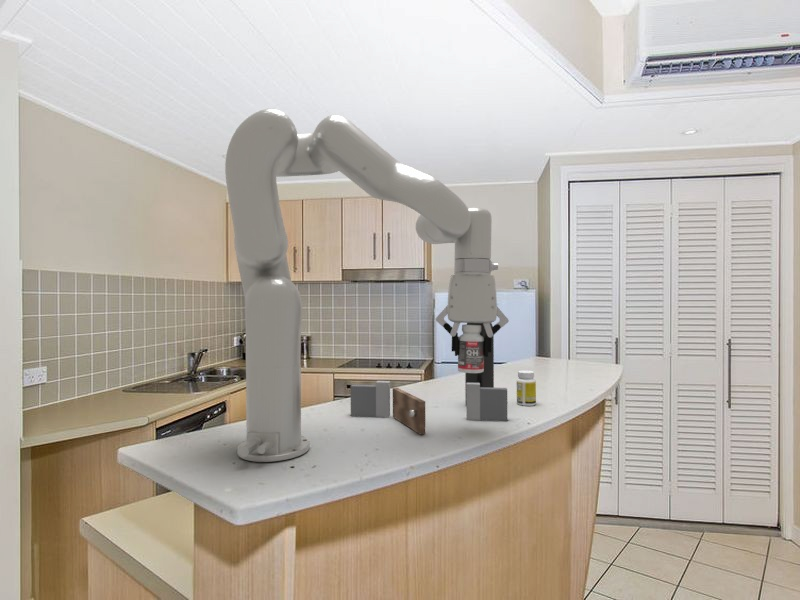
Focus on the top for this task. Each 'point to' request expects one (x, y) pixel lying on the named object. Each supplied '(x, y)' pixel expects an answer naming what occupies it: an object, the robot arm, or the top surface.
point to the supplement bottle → (526, 388)
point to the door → (409, 410)
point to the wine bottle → (488, 374)
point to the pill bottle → (471, 350)
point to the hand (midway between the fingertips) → (471, 354)
